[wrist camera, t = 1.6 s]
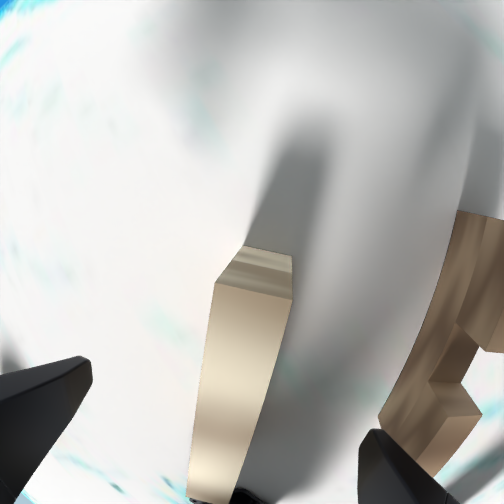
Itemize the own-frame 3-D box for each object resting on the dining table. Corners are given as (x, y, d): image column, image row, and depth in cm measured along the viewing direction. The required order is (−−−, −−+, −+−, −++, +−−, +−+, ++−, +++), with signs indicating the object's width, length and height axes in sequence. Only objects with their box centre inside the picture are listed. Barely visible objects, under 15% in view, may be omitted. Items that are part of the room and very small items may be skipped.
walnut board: (407, 417, 17) (431, 479, 11) (377, 416, 17) (396, 482, 11) (487, 221, 13) (556, 241, 7) (457, 210, 13) (527, 226, 8)
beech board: (241, 441, 18) (227, 506, 13) (207, 433, 19) (185, 496, 13) (291, 256, 15) (292, 300, 9) (242, 245, 15) (215, 282, 9)
